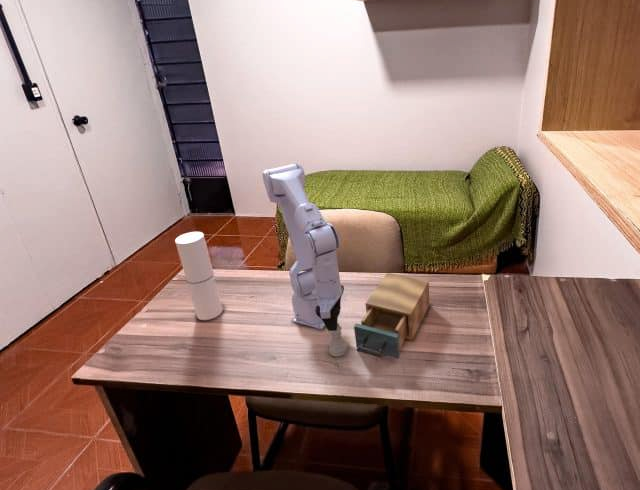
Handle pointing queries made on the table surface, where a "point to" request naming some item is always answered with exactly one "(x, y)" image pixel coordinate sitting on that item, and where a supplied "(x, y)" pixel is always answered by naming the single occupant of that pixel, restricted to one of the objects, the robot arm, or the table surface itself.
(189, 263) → the cylindrical container
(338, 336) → the chess piece
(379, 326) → the drawer
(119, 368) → the table surface
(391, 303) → the cabinet
